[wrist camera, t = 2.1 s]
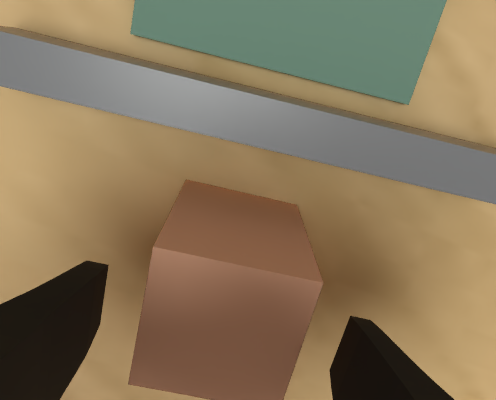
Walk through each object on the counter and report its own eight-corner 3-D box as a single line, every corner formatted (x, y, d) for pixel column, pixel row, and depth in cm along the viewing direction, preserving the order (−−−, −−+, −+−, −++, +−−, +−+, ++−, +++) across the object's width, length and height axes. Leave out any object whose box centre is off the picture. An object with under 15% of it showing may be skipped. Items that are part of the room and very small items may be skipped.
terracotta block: (268, 298, 18) (278, 411, 12) (166, 277, 17) (128, 384, 12) (296, 204, 16) (323, 283, 11) (186, 179, 16) (153, 246, 10)
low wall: (479, 184, 16) (530, 212, 13) (12, 71, 15) (-44, 75, 12) (496, 148, 16) (552, 168, 13) (15, 27, 14) (-44, 20, 11)
